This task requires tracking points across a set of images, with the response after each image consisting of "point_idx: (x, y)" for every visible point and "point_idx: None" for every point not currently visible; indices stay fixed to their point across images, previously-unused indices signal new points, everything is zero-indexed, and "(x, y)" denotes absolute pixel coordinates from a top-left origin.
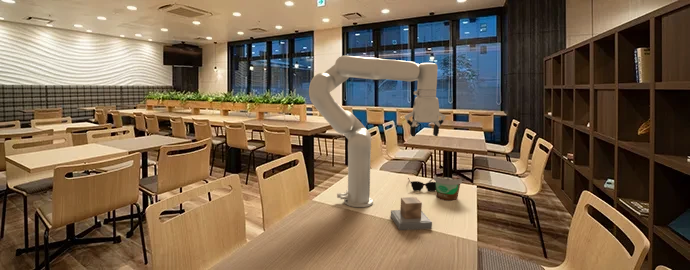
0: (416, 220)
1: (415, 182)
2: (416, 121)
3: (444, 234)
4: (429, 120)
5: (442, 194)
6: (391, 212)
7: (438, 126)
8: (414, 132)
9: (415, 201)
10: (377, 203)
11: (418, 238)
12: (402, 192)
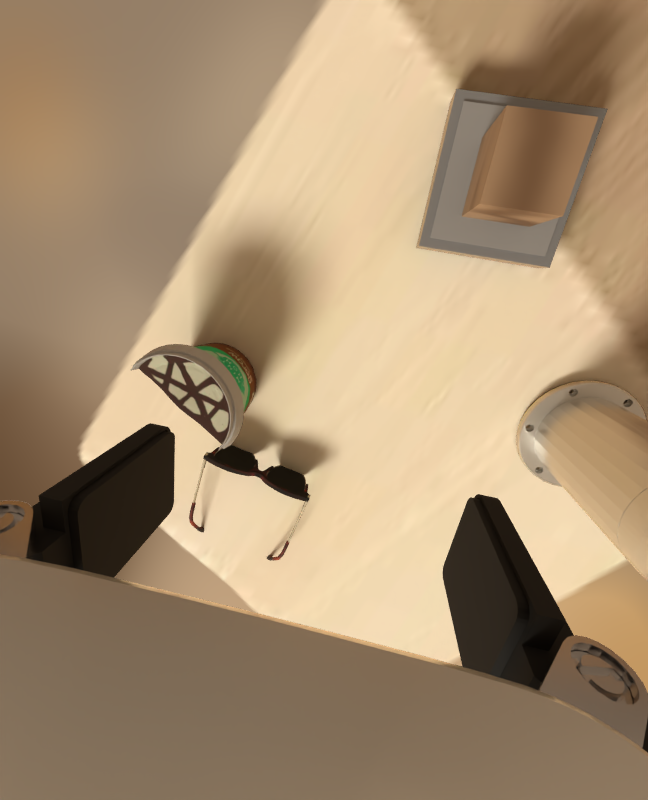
0: None
1: (290, 491)
2: (637, 752)
3: (434, 29)
4: (173, 642)
5: (242, 366)
6: (551, 255)
7: (27, 505)
8: (506, 530)
9: (526, 136)
10: (508, 403)
11: (565, 15)
12: (353, 470)
